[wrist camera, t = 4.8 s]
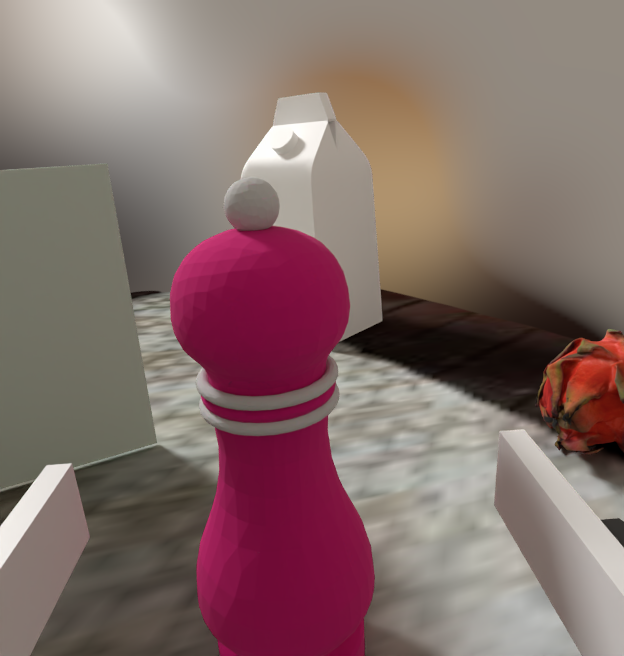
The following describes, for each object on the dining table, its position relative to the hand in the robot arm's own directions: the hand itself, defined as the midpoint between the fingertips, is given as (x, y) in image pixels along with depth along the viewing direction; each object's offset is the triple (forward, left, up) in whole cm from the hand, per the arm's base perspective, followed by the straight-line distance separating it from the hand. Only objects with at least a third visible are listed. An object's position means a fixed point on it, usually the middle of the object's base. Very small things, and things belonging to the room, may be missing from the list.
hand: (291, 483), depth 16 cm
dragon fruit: (+27, +4, -11) cm, 30 cm away
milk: (+26, +39, -11) cm, 48 cm away
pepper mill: (+1, +3, -11) cm, 12 cm away
